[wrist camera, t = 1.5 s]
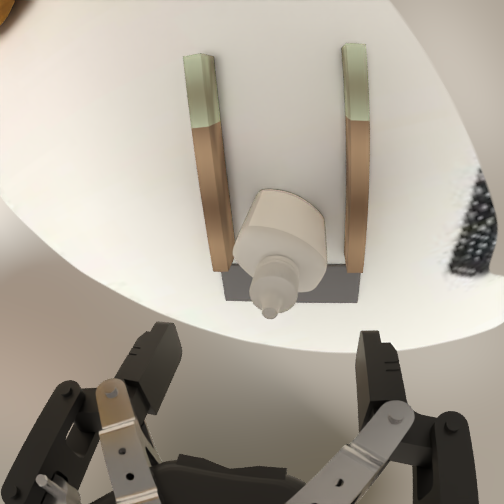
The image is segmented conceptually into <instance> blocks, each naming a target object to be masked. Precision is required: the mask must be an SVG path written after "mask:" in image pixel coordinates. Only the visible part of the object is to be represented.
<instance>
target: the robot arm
mask: <svg viewBox="0 0 504 504" xmlns="http://www.w3.org/2000/svg"><path fill="white" fill-rule="evenodd" d="M181 357H182V347H181V344H180V340H179V337H178V334H177V331H176V327H175V325H174V323H169V322H156V323H155V325H154V326H153V328H152V330H151V331H150V332H147V331H146V332H145V333H144V334H143V335H142V336H140V337H139V338H138V339H137V341H136V342H135V344H134V346H133V348H132V349H131V351H130V352H129V355H128V356H127V357H126V359H125V360H124V362H123V364H122V365H121V367H120V369H119V371H118V372H117V374H116V376H115V377H114V378H111V379H107V380H105V381H103V382H102V383H101V384H100V385H99V386H98V387H97V388H85V389H81V387H80V386H79V384H78V383H77V382H75V381H72V380H69V381H64V382H62V383H61V384H59V385H58V386H57V387H56V389H55V390H54V392H53V394H52V395H51V397H50V399H49V400H48V402H47V404H46V405H45V407H44V409H43V411H42V412H41V414H40V416H39V418H38V419H37V421H36V423H35V424H34V426H33V428H32V430H31V432H30V433H29V435H28V437H27V439H26V441H25V443H24V444H23V446H22V448H21V450H20V452H19V454H18V456H17V458H16V460H15V462H14V464H13V466H12V467H11V470H10V471H9V473H8V476H7V478H6V480H5V482H4V484H3V486H2V489H1V496H2V499H3V501H4V502H5V504H81V497H80V494H79V492H78V489H79V487H80V484H81V482H82V480H83V477H84V475H85V472H86V470H87V468H88V465H89V463H90V461H91V458H92V456H93V454H94V451H95V449H96V447H97V444H98V442H99V440H100V441H101V446H102V450H103V454H104V458H105V462H106V466H107V470H108V474H109V477H110V481H111V484H112V488H113V491H111V492H110V493H108V494H106V495H104V496H103V497H101V498H99V499H97V500H95V501H94V502H92V503H90V504H357V503H358V501H359V500H360V499H361V498H362V496H363V495H364V494H365V493H366V491H367V490H368V489H369V488H370V486H371V485H372V484H373V483H374V482H375V480H376V479H377V478H378V477H379V475H380V474H381V473H382V471H383V470H384V469H385V468H386V466H387V465H388V463H389V462H390V461H394V462H399V463H404V464H409V465H412V467H413V504H479V501H478V489H477V479H476V471H475V463H474V456H473V450H472V443H471V437H470V432H469V426H468V423H467V420H466V419H465V417H464V416H463V415H461V414H460V413H458V412H454V411H448V412H444V413H442V414H441V415H440V416H438V418H435V417H430V416H425V415H421V414H418V413H416V412H415V411H414V410H413V409H412V408H411V406H409V405H408V403H407V400H406V395H405V389H404V384H403V380H402V374H401V369H400V364H399V359H398V354H397V351H396V350H395V348H394V347H393V346H392V344H391V343H381V340H380V334H379V331H361V332H360V337H359V343H358V349H357V354H356V364H355V369H356V383H357V400H358V420H359V434H358V435H357V437H356V438H355V439H354V440H353V441H352V442H351V443H350V444H346V445H345V446H344V447H343V448H341V449H340V451H339V452H338V453H337V454H336V455H335V456H334V457H333V458H332V459H331V460H330V461H329V462H328V463H327V464H326V465H325V466H324V467H323V468H322V469H321V470H320V471H319V472H318V473H317V474H316V476H314V477H313V478H312V479H311V480H310V481H309V482H308V483H307V484H306V483H305V482H303V481H301V480H300V479H298V478H295V477H293V476H290V475H287V472H286V471H287V468H276V467H264V466H255V467H245V468H234V469H229V468H226V467H223V466H221V465H218V464H216V463H213V462H211V461H209V460H206V459H204V458H198V457H193V456H187V455H183V454H179V457H178V459H177V460H174V461H167V462H162V460H161V458H160V457H159V455H158V452H157V450H156V447H155V445H154V442H153V439H152V437H151V434H150V431H149V428H148V426H147V423H146V420H145V417H146V415H147V413H148V414H153V415H157V412H158V410H159V408H160V406H161V403H162V401H163V399H164V397H165V394H166V392H167V390H168V387H169V385H170V383H171V381H172V378H173V376H174V373H175V372H176V369H177V367H178V365H179V363H180V361H181ZM73 423H74V425H73V427H72V429H71V431H70V433H69V435H68V437H67V439H66V436H67V433H68V431H69V430H70V428H71V426H72V424H73Z"/></svg>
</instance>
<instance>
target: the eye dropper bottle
mask: <svg viewBox="0 0 504 504" xmlns="http://www.w3.org/2000/svg"><path fill="white" fill-rule="evenodd" d="M233 256H234V259H235V260H236V262H237V263H238V264H239V265H240V266H241V267H242V268H243V269H244V270H245V271H246V272H247V273H248V274H249V275H250V276H251V277H253V279H252V283H251V286H250V291H249V292H250V293H249V294H250V298H251V300H252V302H253V304H255V306H256V307H258V308H259V309H260V310H262V314H263V316H264V317H265V318H267V319H274V318H275V317H276V316H277V314H278V313H282V312H285V311H288V310H289V309H291V307H293V306H294V304H295V302H296V300H297V297H298V292H308V291H312V290H313V289H314V288H316V286H317V285H318V284H319V282H320V281H321V279H322V278H323V276H324V274H325V272H326V268H327V247H326V233H325V222H324V218H323V216H322V215H321V214H320V212H319V211H318V210H317V209H316V208H315V207H314V206H312V205H311V204H310V203H309V202H307V201H306V200H304V199H302V198H301V197H299V196H297V195H294V194H292V193H289V192H285V191H281V190H274V189H264V190H261V191H259V192H258V194H257V195H256V197H255V199H254V202H253V204H252V206H251V208H250V210H249V212H248V215H247V217H246V219H245V221H244V223H243V226H242V228H241V230H240V232H239V235H238V237H237V240H236V242H235V245H234V247H233Z"/></svg>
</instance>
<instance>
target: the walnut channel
mask: <svg viewBox="0 0 504 504" xmlns="http://www.w3.org/2000/svg"><path fill="white" fill-rule="evenodd" d="M341 50H342V62H343V77H344V94H345V117H346V220H345V244H344V256H345V262H346V269H347V273H363V266H364V255H365V244H366V230H367V215H368V195H369V162H370V121H369V89H368V70H367V56H366V44H355V43H346V44H345V45H344V46H343V47H342V48H341ZM183 61H184V71H185V79H186V88H187V97H188V105H189V113H190V121H191V128H192V136H193V143H194V151H195V158H196V165H197V172H198V179H199V186H200V192H201V199H202V205H203V212H204V218H205V224H206V231H207V237H208V243H209V249H210V255H211V261H212V266H213V271H214V272H228V271H229V269H230V266H231V264H232V262H233V259H234V256H233V247H234V245H235V239H234V231H233V223H232V214H231V206H230V198H229V190H228V181H227V173H226V164H225V156H224V147H223V138H222V129H221V121H220V112H219V102H218V93H217V84H216V75H215V65H214V57H213V56H209V55H205V54H201V53H200V54H195V55H189V56H184V57H183Z"/></svg>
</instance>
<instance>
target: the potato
mask: <svg viewBox="0 0 504 504" xmlns="http://www.w3.org/2000/svg"><path fill="white" fill-rule="evenodd" d="M14 2H15V0H0V25H1V24H2V23H3V22H4V21H5V19H6V18H7V16H8V15H9V13H10V11H11V8H12V6H13V4H14Z"/></svg>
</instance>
